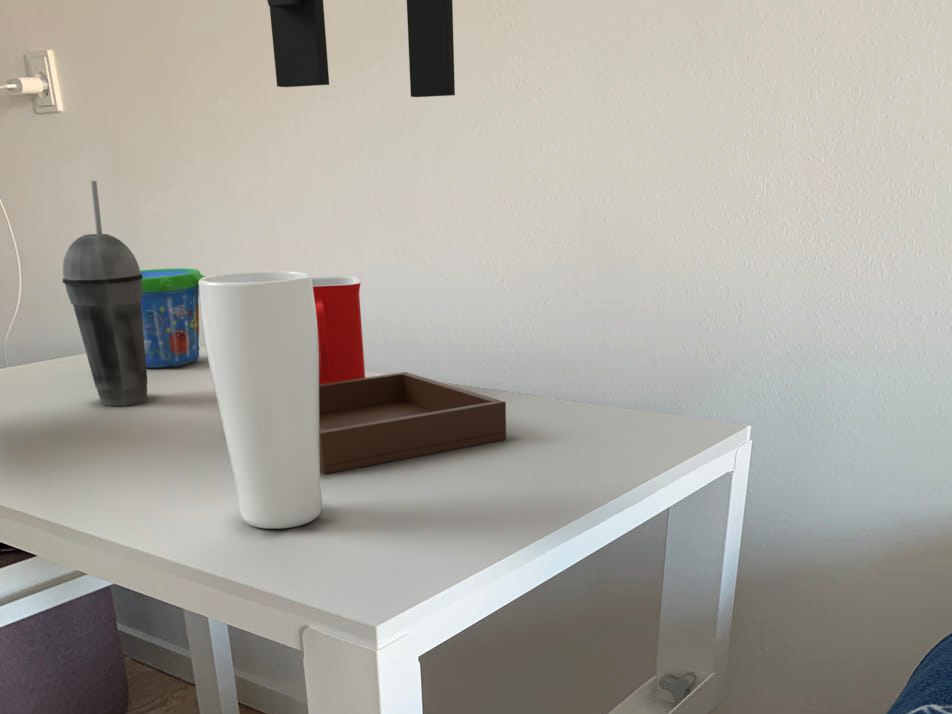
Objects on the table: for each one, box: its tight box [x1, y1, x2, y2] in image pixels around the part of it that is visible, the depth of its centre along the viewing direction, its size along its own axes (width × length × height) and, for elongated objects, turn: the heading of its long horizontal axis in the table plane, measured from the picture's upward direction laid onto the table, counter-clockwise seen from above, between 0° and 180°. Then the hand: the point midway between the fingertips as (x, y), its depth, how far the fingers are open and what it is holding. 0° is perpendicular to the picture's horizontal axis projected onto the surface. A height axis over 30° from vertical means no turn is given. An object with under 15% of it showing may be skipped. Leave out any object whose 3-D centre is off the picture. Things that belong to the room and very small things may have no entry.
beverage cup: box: [62, 180, 149, 407], centre depth 96 cm, size 7×7×20 cm
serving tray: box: [319, 371, 507, 475], centre depth 85 cm, size 17×17×3 cm
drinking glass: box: [198, 270, 323, 530], centre depth 63 cm, size 7×7×15 cm
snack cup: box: [140, 267, 207, 369], centre depth 116 cm, size 16×10×10 cm
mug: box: [311, 275, 366, 384], centre depth 98 cm, size 12×8×11 cm
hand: (374, 92), depth 56 cm, fingers open, 13 cm apart
